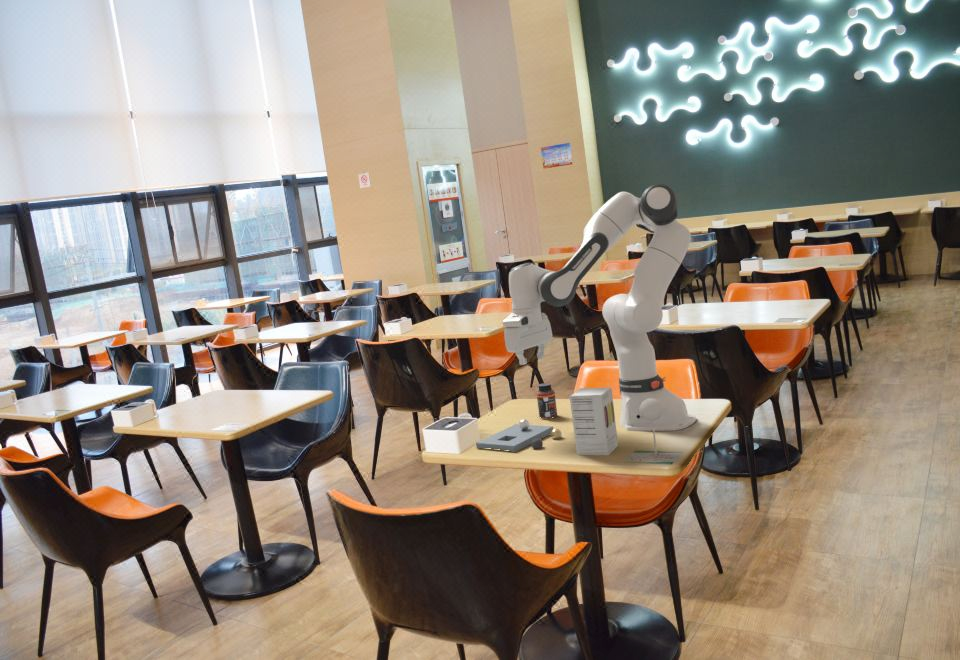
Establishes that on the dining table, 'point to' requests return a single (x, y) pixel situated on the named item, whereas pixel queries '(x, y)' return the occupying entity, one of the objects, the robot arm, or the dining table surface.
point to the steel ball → (524, 424)
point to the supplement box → (594, 421)
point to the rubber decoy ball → (537, 444)
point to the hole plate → (515, 437)
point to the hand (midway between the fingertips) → (532, 361)
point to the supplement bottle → (546, 401)
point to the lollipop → (651, 413)
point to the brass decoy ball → (556, 434)
